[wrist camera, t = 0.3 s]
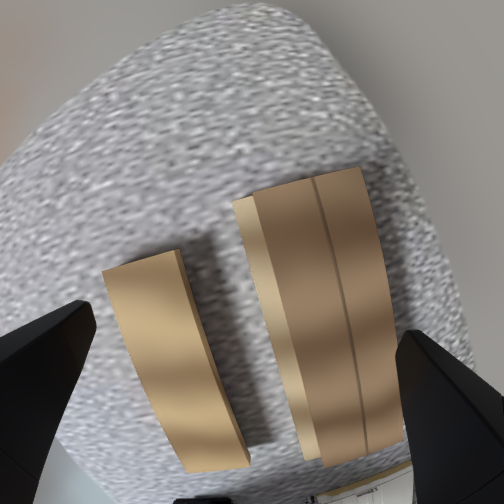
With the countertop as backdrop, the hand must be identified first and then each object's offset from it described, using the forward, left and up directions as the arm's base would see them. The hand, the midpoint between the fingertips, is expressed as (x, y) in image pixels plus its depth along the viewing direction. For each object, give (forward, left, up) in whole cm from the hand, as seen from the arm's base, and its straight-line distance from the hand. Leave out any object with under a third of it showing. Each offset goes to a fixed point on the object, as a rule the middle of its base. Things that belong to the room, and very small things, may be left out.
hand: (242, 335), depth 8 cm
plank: (-6, +7, -14) cm, 17 cm away
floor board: (-6, -5, -13) cm, 15 cm away
